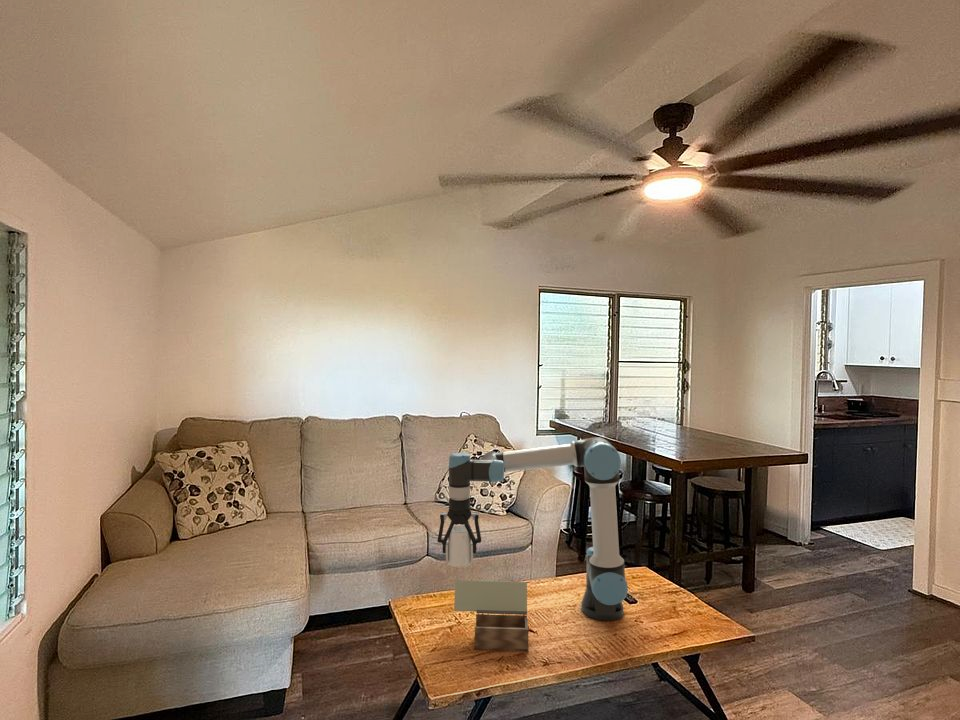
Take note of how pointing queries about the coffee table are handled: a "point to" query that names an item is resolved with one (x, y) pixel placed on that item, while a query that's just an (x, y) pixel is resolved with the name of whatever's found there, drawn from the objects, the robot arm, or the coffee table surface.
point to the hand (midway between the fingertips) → (459, 561)
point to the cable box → (501, 632)
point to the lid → (491, 597)
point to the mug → (459, 547)
